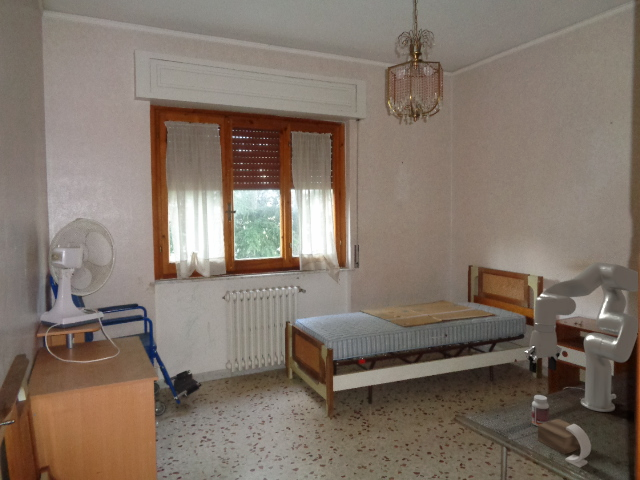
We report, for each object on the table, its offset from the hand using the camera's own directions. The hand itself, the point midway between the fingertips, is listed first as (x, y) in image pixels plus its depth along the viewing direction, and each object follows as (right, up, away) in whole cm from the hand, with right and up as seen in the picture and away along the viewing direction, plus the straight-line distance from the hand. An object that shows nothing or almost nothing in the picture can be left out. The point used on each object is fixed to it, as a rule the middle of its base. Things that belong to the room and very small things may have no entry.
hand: (542, 370), depth 186 cm
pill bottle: (0, -22, +2) cm, 22 cm away
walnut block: (0, -23, -14) cm, 27 cm away
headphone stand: (0, -24, -26) cm, 36 cm away
